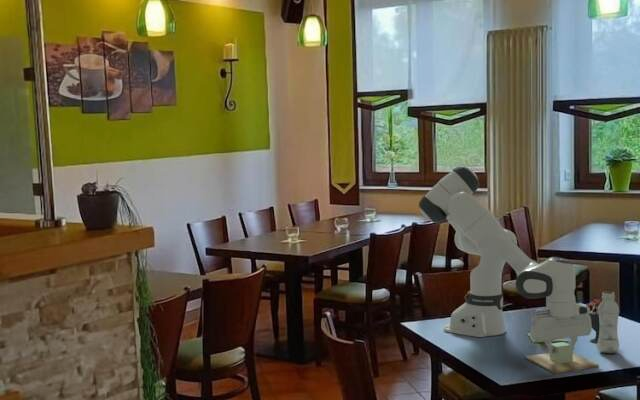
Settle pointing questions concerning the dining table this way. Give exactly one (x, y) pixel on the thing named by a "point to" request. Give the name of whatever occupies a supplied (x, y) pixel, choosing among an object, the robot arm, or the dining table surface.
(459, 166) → the robot arm
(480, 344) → the dining table surface
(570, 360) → the sage block
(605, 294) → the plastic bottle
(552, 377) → the dining table surface
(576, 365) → the tan square board
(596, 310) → the sundae
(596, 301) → the flower
